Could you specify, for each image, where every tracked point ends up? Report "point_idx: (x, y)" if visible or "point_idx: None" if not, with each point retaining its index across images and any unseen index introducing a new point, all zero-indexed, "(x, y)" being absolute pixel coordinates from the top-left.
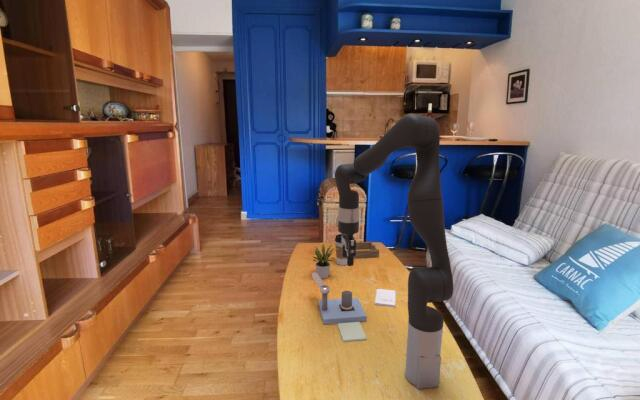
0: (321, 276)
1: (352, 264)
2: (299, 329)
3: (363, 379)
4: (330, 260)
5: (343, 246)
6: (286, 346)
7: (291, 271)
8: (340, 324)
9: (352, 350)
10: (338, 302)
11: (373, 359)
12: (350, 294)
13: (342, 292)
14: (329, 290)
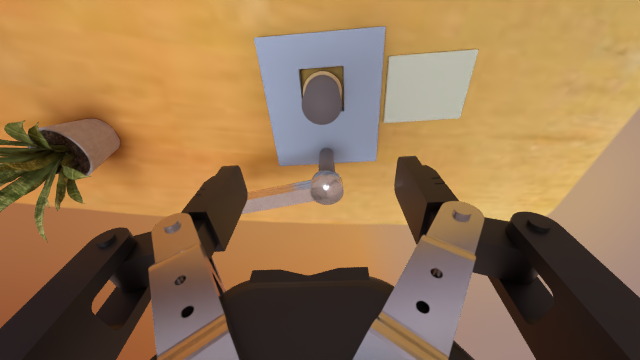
0: (115, 144)
1: (430, 170)
2: (381, 199)
3: (608, 90)
4: (36, 138)
5: (211, 258)
6: None
7: (110, 211)
8: (390, 116)
9: (499, 98)
10: (291, 113)
11: (562, 47)
12: (333, 93)
13: (314, 121)
14: (333, 174)
